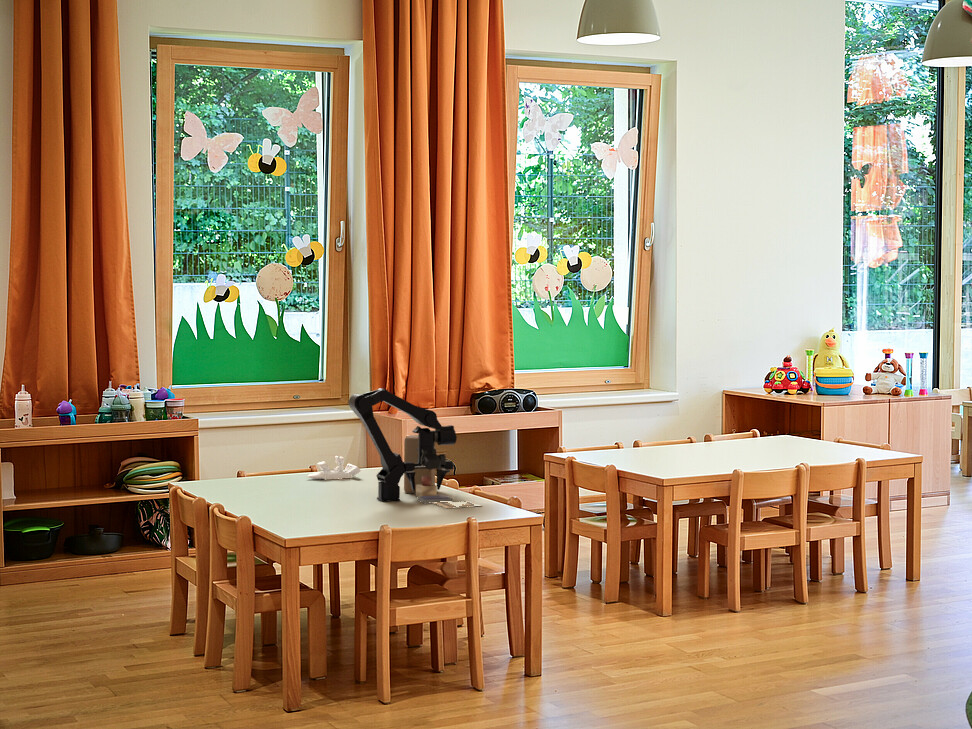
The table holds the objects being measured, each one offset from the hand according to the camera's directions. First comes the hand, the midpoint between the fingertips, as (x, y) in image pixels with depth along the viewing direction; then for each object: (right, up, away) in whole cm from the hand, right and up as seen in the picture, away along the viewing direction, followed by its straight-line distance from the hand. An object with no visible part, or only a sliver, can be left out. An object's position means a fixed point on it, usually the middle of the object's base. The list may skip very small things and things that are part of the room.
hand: (426, 490), depth 397 cm
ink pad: (+3, -3, -7) cm, 8 cm away
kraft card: (+11, -3, -15) cm, 19 cm away
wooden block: (-3, -2, +14) cm, 15 cm away
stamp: (0, -3, 0) cm, 3 cm away
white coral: (-39, -1, +44) cm, 59 cm away
